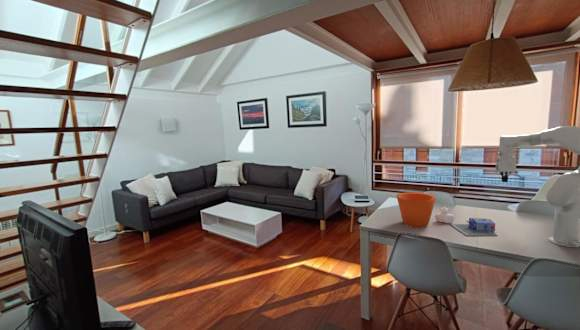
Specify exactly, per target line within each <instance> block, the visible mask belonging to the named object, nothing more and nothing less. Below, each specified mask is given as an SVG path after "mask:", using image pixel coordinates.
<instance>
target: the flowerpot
mask: <svg viewBox="0 0 580 330" xmlns="http://www.w3.org/2000/svg"><path fill="white" fill-rule="evenodd" d="M396 199H397V203H398V206H399V211H400V212H399V213H400V215H401V219H402V224H403V223H404V224H406V225H408V226H407V227H409V226H412V227H411V228H415V227H423V228H426V227H425V226H427V225H428V226H429V223H430V220H431V216H432V212H433V210H434V206H435V203H436V200H437V196H436V195H433V194H430V193H426V192H425V193H424V192H417V191H415V192H414V191H413V192H412V191H411V192H409V191H408V192H407V191H406V192H401V193H397V194H396ZM404 224H403V225H404ZM406 225H405V226H406ZM428 226H427V227H428Z"/></svg>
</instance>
